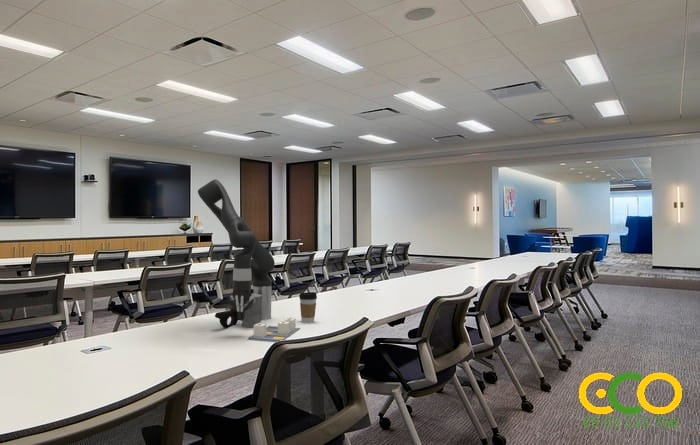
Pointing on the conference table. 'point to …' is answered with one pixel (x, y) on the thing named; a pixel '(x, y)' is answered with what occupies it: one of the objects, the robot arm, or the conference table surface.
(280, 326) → the cream white block
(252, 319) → the coffeepot
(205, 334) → the conference table surface
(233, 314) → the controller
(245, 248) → the robot arm
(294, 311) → the conference table surface
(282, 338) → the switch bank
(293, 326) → the white studded block
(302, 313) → the coffee cup
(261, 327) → the white toy brick
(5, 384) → the conference table surface
